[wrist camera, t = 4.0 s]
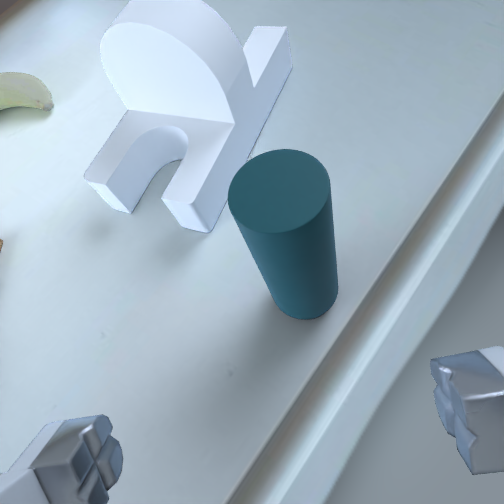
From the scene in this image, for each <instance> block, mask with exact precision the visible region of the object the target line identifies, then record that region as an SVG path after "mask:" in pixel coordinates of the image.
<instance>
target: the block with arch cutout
mask: <svg viewBox="0 0 504 504" xmlns="http://www.w3.org/2000/svg"><path fill="white" fill-rule="evenodd" d="M100 57H101V60H102V64H103V67H104V70H105V72H106V74H107V76H108V78H109V80H110V82H111V84H112V85H113V87H114V88H115V90H116V92H117V93H118V95H119V96H120V98H121V99H122V101H123V102H124V104H125V106H126V107H127V109H128V110H127V112H126V113H125V114H124V116H123V117H122V119H121V120H120V122H119V123H118V125H117V126H116V128H115V129H114V131H113V132H112V133H111V135H110V136H109V138H108V139H107V141H106V142H105V144H104V145H103V147H102V148H101V150H100V151H99V152H98V154H97V155H96V157H95V158H94V160H93V161H92V163H91V164H90V166H89V167H88V169H87V170H86V171H85V173H84V179H85V180H86V181H87V182H88V183H89V184H90V185H91V186H92V187H93V188H94V189H95V190H96V191H97V192H98V194H99V195H100V196H101V197H102V198H103V199H104V200H105V201H106V202H107V203H108V204H109V205H110V206H111V207H112V208H113V209H115V210H119V211H123V212H127V213H132V211H133V210H134V208H135V206H136V205H137V203H138V201H139V200H140V198H141V196H142V195H143V193H144V191H145V190H146V188H147V186H148V185H149V183H150V181H151V180H152V178H153V176H154V175H155V174H156V173H157V171H158V170H160V169H161V168H162V167H163V166H165V165H166V164H168V163H170V162H172V161H175V160H180V159H183V160H182V162H181V164H180V165H179V167H178V169H177V171H176V172H175V174H174V176H173V177H172V179H171V181H170V183H169V184H168V186H167V188H166V190H165V191H164V193H163V195H162V197H161V199H162V200H163V201H164V203H165V204H166V206H167V207H168V208H169V210H170V211H171V212H172V214H173V215H174V216H175V218H176V219H177V221H178V222H179V223H180V225H181V226H182V227H185V228H189V229H192V230H196V231H200V232H204V233H209V232H211V231H212V229H213V227H214V225H215V223H216V221H217V219H218V217H219V215H220V213H221V211H222V209H223V207H224V205H225V203H226V201H227V199H228V190H229V186H230V183H231V181H232V179H233V177H234V176H235V174H236V173H237V172H238V170H239V169H240V168H241V167H242V166H243V165H244V164H245V163H246V161H247V158H248V156H249V154H250V152H251V150H252V148H253V146H254V144H255V142H256V140H257V138H258V136H259V134H260V132H261V130H262V128H263V126H264V124H265V122H266V120H267V118H268V115H269V113H270V111H271V109H272V107H273V105H274V103H275V101H276V99H277V97H278V95H279V93H280V91H281V89H282V87H283V85H284V83H285V81H286V79H287V77H288V75H289V73H290V71H291V69H292V67H293V64H292V58H291V51H290V44H289V38H288V31H287V27H273V26H255V28H254V29H253V31H252V33H251V34H250V36H249V38H248V40H247V41H246V43H245V45H244V46H243V47H241V44H240V42H239V40H238V39H237V37H236V36H235V34H234V33H233V31H232V29H231V28H230V26H229V25H228V24H227V23H226V22H225V21H224V20H223V19H222V18H221V16H220V15H219V14H218V13H217V12H216V11H215V10H214V9H213V8H211V7H210V6H208V5H207V4H206V3H204V2H203V1H201V0H130V1H129V2H128V4H127V5H126V6H125V7H124V9H123V10H122V11H121V12H120V14H119V15H118V16H117V17H116V19H115V20H114V21H113V22H112V24H111V25H110V26H109V28H108V29H107V30H106V31H105V33H104V35H103V38H102V40H101V42H100Z"/></svg>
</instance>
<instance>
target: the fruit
mask: <svg viewBox="0 0 504 504" xmlns="http://www.w3.org/2000/svg"><path fill="white" fill-rule="evenodd" d="M16 106H26V107H33V108H41V109H43V110H45V111H49V110H51V109H52V108H53V107H54V104H53V102H52V97H51V93H50V91H49V90H48V89H47V87H46V86H45V85H44V84H43V82H42V81H41V80H39V79H38V78H36V77H34V76H32V75H29V74H25V73H17V72H5V73H0V110H3V109H6V108H10V107H16Z"/></svg>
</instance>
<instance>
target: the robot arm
mask: <svg viewBox="0 0 504 504" xmlns="http://www.w3.org/2000/svg"><path fill="white" fill-rule="evenodd" d="M430 368H431V375H432V377H433V378H434V380H435V381H436V383H437V386H436V388H435V389H434V398H435V404H436V407H437V410H438V414H439V417H440V419H441V421H442V423H443V426H444V427H445V429H446V431H447V433H448V434H450V435H452V436H453V437H455V438H456V444H457V450H458V452H459V453H460V455H461V457H462V458H463V460H464V461H465V463H466V465H467V467H468V468H469V470H470V472H471V473H472V475H477V474H487V473H496V472H504V348H503V347H501V346H494V347H488V348H484V349H479V350H475V351H472V352H466V353H461V354H455V355H450V356H444V357H439V358H433V359H431V361H430ZM112 429H113V426H112V424H111V422H110V420H109V418H108V417H107V416H105V415H103V414H102V415H95V416H89V417H82V418H75V419H69V420H62V421H56V422H51V423H49V424H47V425H45V426H44V427H43V428H42V430H41V431H40V432H39V433H38V435H37V436H36V437H35V438H34V439H33V441H32V442H31V443H30V444H29V446H28V447H27V448H26V449H25V450H24V452H23V453H22V454H21V455H20V456H19V458H18V459H17V460H16V461H15V463H14V464H13V465H12V466H11V467H10V469H9V470H8V471H7V472H6V473H1V474H0V504H107V502H108V500H109V496H108V492H107V491H108V490H109V489H110V488H111V487H112V486H113V485H114V484H115V483H117V481H118V479H119V476H120V474H121V471H122V464H123V455H122V449H121V446H120V444H119V441H117V440H116V439H115V438H113V437H112V436H111V435H110V434H111V432H112Z"/></svg>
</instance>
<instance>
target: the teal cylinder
mask: <svg viewBox="0 0 504 504" xmlns="http://www.w3.org/2000/svg"><path fill="white" fill-rule="evenodd" d="M228 205H229V208H230V211H231V213H232V215H233V217H234V219H235V221H236V223H237V225H238V227H239V229H240V231H241V233H242V235H243V238H244V240H245V242H246V244H247V246H248V248H249V250H250V252H251V254H252V256H253V258H254V260H255V262H256V264H257V266H258V268H259V270H260V272H261V274H262V276H263V278H264V280H265V282H266V284H267V287H268V289H269V291H270V293H271V295H272V297H273V299H274V301H275V303H276V305H277V306H278V307H279V309H280V310H281V311H283V312H284V313H285V314H287V315H289V316H291V317H293V318H297V319H304V320H308V319H314V318H317V317H319V316H321V315H322V314H324V313H325V312H326V311H328V310H329V309H330V308H331V306H332V305H333V304H334V302H335V300H336V298H337V294H338V276H337V264H336V251H335V238H334V225H333V213H332V200H331V187H330V179H329V176H328V173H327V171H326V169H325V168H324V166H323V165H322V164H321V163H320V162H319V161H318V160H317V159H316V158H314V157H313V156H311V155H309V154H307V153H305V152H302V151H298V150H292V149H280V150H273V151H269V152H266V153H263V154H260V155H258V156H256V157H254V158H253V159H251V160H249V161H248V162H247V163H245V164H244V165H243V166H242V167H241V168H240V169H239V170H238V172H237V173H236V174H235V176H234V177H233V179H232V181H231V183H230V186H229V190H228Z"/></svg>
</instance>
